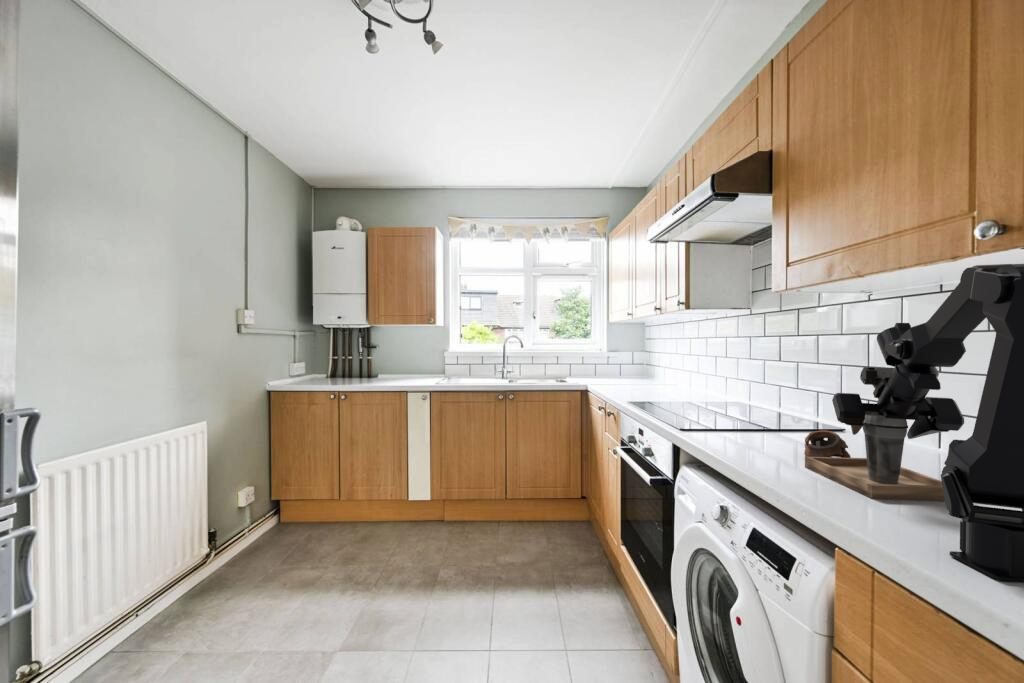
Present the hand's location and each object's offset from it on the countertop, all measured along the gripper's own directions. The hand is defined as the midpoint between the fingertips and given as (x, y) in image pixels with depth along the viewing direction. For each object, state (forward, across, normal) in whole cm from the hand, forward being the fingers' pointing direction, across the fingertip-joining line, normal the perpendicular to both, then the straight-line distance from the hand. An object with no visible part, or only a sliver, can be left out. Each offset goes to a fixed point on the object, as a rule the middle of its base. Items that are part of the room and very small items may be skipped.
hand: (880, 434), depth 89 cm
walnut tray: (+8, +1, +7) cm, 10 cm away
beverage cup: (+6, 0, +7) cm, 9 cm away
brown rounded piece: (+20, +5, -6) cm, 22 cm away
